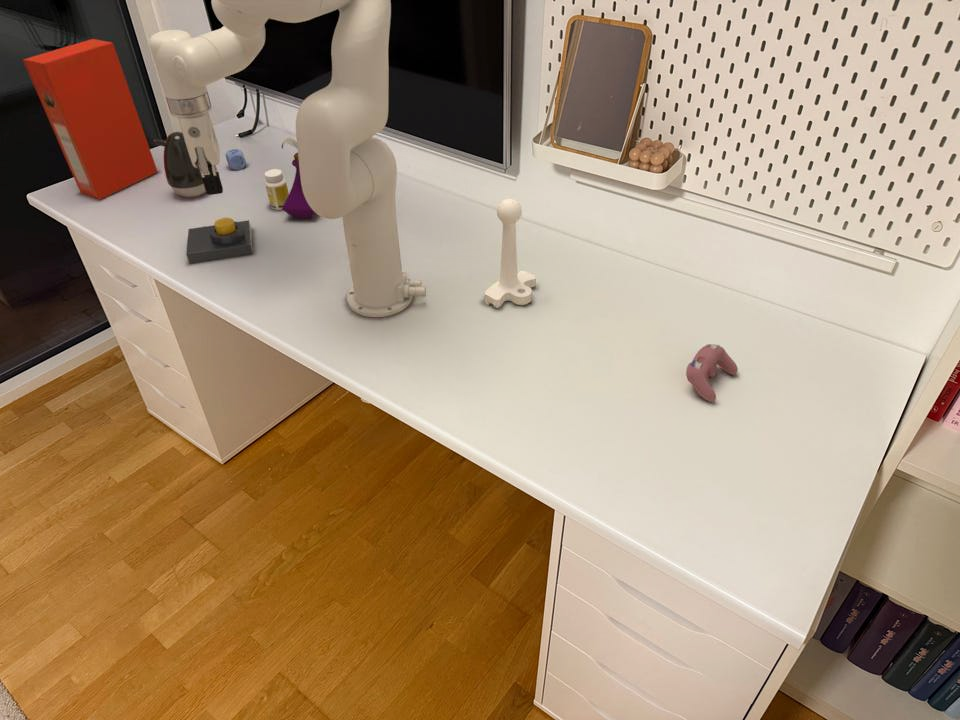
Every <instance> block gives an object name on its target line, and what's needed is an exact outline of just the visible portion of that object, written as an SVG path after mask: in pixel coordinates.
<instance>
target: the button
mask: <svg viewBox="0 0 960 720" xmlns="http://www.w3.org/2000/svg"><path fill="white" fill-rule="evenodd" d="M213 225H215V228H216V232H217V234H221V235H225V234H230V233H232V232H234V231H235V230H236V227H235V223H234V219H233V218H231V217H222V218H218V219H217V220H215V221H214V223H213Z"/></svg>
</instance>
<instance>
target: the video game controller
mask: <svg viewBox="0 0 960 720" xmlns="http://www.w3.org/2000/svg"><path fill="white" fill-rule="evenodd" d="M717 366H718V367H719V368H721V369H722V370H723V371H724V372H726V373H727V374H730V375H732V376H735V375H736V374H737V373H738V371H739V370H738V369H739V368H738V366H737V364H736V362H735V361H734V360H733V359H732V357H731V356H730V355H729V353H727V351H726V350H725V348H724V347H723V346H720V344H715V343H708V344H706V345H704V346H702V347H700V349H699V350H698V351H697V353H696V354H695V355H694V357H693V359H692V361H691V362H689V363H688V364H687V366H686V373H685V374H686V375H685V376H686V379H687V381H688V383H690V384H691V385H692V387H693V388H694V390H695V392H696V393H698V395H699V396H700V397H702V398H703V399H704V400H705V401H706V402H711V403H712V402H714V401H716V399H717V395H716V392H715V390H714V389H713V387H712V386H711V385H710V383H709V377H715V376H716V375H717V371H718V367H717Z"/></svg>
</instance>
